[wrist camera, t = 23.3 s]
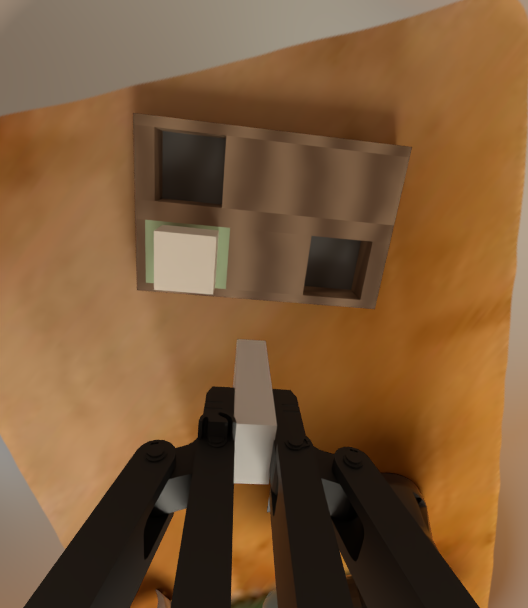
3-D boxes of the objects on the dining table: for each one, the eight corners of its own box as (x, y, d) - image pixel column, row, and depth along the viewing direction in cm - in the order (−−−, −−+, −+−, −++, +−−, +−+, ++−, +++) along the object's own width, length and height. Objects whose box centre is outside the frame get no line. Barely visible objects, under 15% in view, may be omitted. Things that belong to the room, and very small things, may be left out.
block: (218, 230, 38) (216, 236, 34) (215, 283, 40) (212, 294, 37) (162, 224, 38) (153, 230, 34) (162, 278, 40) (153, 289, 36)
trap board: (396, 149, 40) (411, 147, 36) (364, 297, 46) (374, 309, 43) (143, 118, 38) (132, 112, 34) (145, 280, 44) (136, 290, 40)
